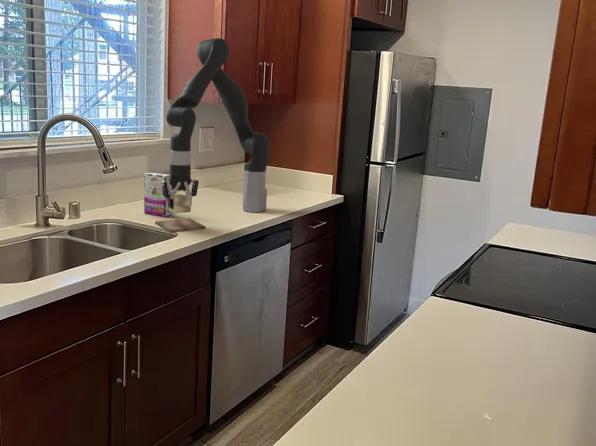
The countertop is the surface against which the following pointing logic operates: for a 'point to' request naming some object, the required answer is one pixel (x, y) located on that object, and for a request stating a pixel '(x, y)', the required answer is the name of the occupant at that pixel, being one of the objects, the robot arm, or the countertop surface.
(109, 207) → the countertop surface
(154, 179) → the candy bar box
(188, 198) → the maple cube
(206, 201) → the countertop surface
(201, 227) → the walnut board
